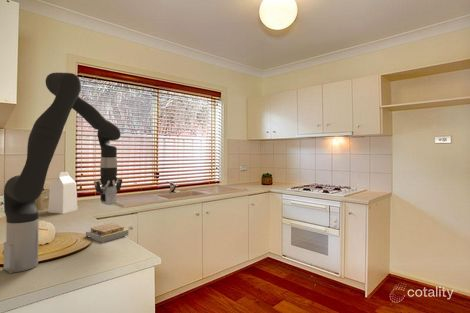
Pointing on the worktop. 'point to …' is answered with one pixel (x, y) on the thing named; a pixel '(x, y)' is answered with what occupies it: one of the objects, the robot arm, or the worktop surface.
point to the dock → (107, 237)
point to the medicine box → (110, 196)
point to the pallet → (107, 229)
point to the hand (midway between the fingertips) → (108, 200)
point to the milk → (62, 194)
